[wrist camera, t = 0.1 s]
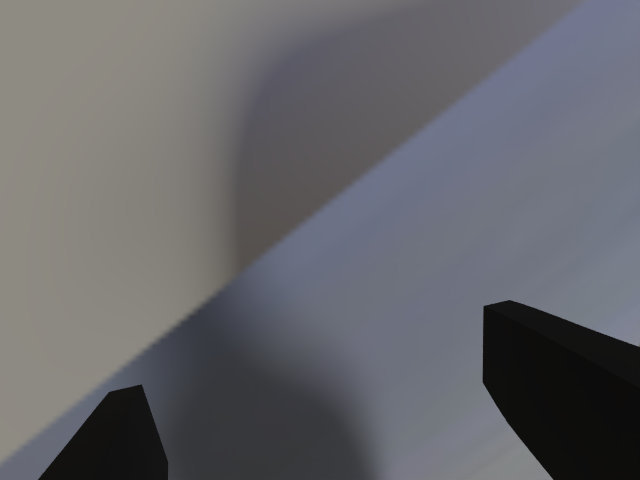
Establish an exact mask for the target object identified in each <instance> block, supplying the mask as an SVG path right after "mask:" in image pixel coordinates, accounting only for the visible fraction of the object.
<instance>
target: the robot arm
mask: <svg viewBox="0 0 640 480" xmlns="http://www.w3.org/2000/svg"><path fill="white" fill-rule="evenodd" d="M483 384H484V385H485V387H486V389H487V390H488V392H489V394H490V395H491V397H492V399H493V400H494V402H495V404H496V405H497V407H498V408H499V410H500V412H501V413H502V415H503V416H504V418H505V419H506V421H507V422H508V424H509V425H510V426H511V428H512V429H513V430H514V431H515V433H516V434H517V435H518V437H519V438H520V439H521V440H522V442H523V443H524V444H525V445H526V447H527V448H528V449H529V450H530V452H531V453H532V454H533V455H534V456H535V458H536V459H537V460H538V461H539V463H540V464H541V465H542V466H543V468H544V469H545V470H546V471H547V472H548V474H549V475H550V476H551V477H552V479H553V480H640V347H638V346H635V345H632V344H629V343H627V342H624V341H621V340H618V339H615V338H613V337H610V336H607V335H605V334H602V333H599V332H596V331H594V330H591V329H588V328H586V327H583V326H581V325H578V324H575V323H573V322H570V321H567V320H565V319H562V318H560V317H557V316H554V315H552V314H549V313H546V312H544V311H541V310H538V309H535V308H533V307H530V306H527V305H524V304H521V303H518V302H514V301H511V300H508V301H503V302H499V303H495V304H490V305H486V306H484V315H483ZM38 480H168V461H167V458H166V455H165V452H164V449H163V446H162V443H161V440H160V437H159V434H158V431H157V428H156V425H155V422H154V419H153V416H152V413H151V410H150V407H149V404H148V401H147V398H146V396H145V393H144V390H143V387H142V385H137V386H133V387H129V388H124V389H120V390H115V391H111V392H109V393H108V394H107V395H106V396H105V398H104V399H103V400H102V401H101V402H100V404H99V405H98V406H97V407H96V409H95V410H94V411H93V412H92V414H91V415H90V416H89V417H88V419H87V420H86V421H85V422H84V424H83V425H82V426H81V427H80V429H79V430H78V431H77V432H76V434H75V435H74V436H73V437H72V439H71V440H70V441H69V442H68V444H67V445H66V446H65V447H64V449H63V450H62V451H61V452H60V453H59V455H58V456H57V457H56V458H55V460H54V461H53V462H52V463H51V464H50V466H49V467H48V468H47V469H46V471H45V472H44V473H43V474H42V475H41V477H40V478H39V479H38Z"/></svg>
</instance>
